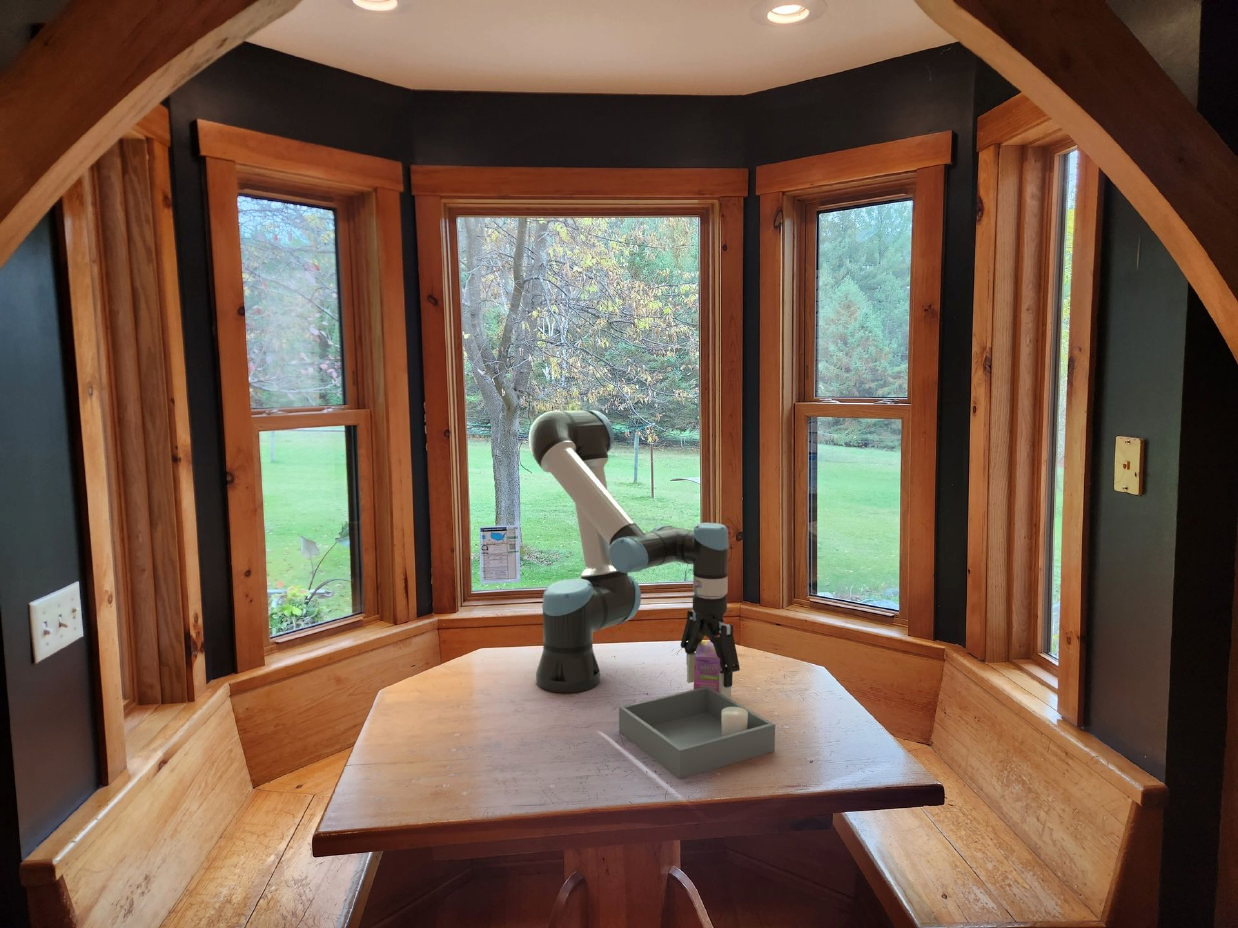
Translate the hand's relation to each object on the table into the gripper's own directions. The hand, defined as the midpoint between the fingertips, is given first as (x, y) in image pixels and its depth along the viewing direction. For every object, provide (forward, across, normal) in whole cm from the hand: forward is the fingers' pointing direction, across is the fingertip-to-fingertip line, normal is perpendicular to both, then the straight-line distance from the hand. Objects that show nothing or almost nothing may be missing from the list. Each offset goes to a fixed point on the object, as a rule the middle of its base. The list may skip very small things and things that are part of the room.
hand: (708, 690), depth 172 cm
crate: (+2, +16, -15) cm, 22 cm away
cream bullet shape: (+1, +20, -8) cm, 22 cm away
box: (+2, 0, 0) cm, 2 cm away
